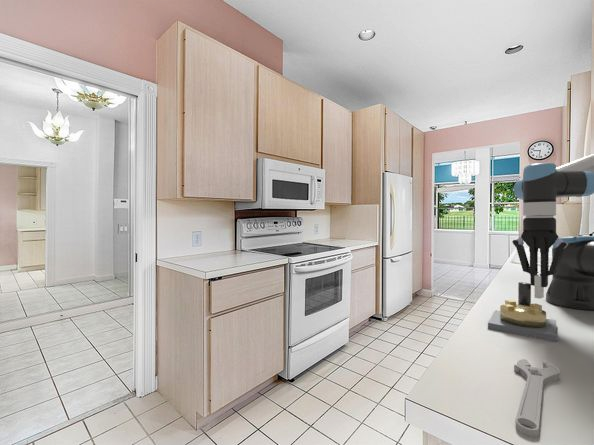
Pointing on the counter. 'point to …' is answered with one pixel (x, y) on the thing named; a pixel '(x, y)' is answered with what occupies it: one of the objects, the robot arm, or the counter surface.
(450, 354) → the counter surface
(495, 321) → the base
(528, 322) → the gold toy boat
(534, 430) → the adjustable wrench
